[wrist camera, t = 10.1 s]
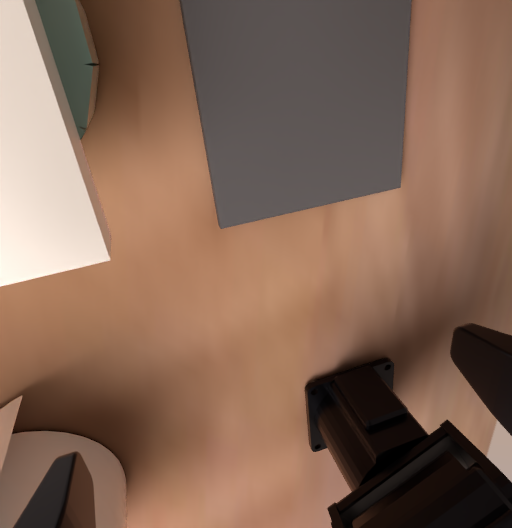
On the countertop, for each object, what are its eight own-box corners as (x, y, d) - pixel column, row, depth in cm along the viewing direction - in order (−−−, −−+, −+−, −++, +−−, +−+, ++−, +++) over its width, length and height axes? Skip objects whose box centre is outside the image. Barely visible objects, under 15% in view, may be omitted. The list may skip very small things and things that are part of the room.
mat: (395, 185, 22) (400, 187, 21) (218, 225, 20) (220, 228, 19) (415, -207, 15) (424, -215, 14) (142, -209, 13) (143, -219, 12)
